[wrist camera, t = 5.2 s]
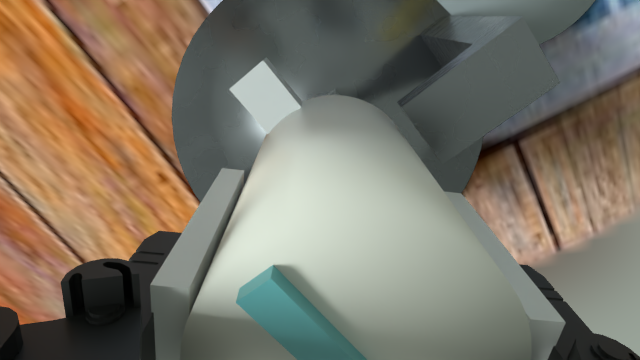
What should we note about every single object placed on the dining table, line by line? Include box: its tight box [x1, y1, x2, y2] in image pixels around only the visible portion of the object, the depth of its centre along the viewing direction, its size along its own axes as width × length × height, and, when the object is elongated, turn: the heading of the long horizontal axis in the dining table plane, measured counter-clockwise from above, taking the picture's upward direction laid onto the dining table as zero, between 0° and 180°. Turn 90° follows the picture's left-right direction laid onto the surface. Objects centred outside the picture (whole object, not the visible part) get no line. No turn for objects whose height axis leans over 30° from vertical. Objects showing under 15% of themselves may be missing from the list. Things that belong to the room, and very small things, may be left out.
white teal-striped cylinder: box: [180, 57, 532, 360], centre depth 13 cm, size 12×7×12 cm, turn 38°
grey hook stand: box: [172, 0, 560, 202], centre depth 21 cm, size 19×19×10 cm
